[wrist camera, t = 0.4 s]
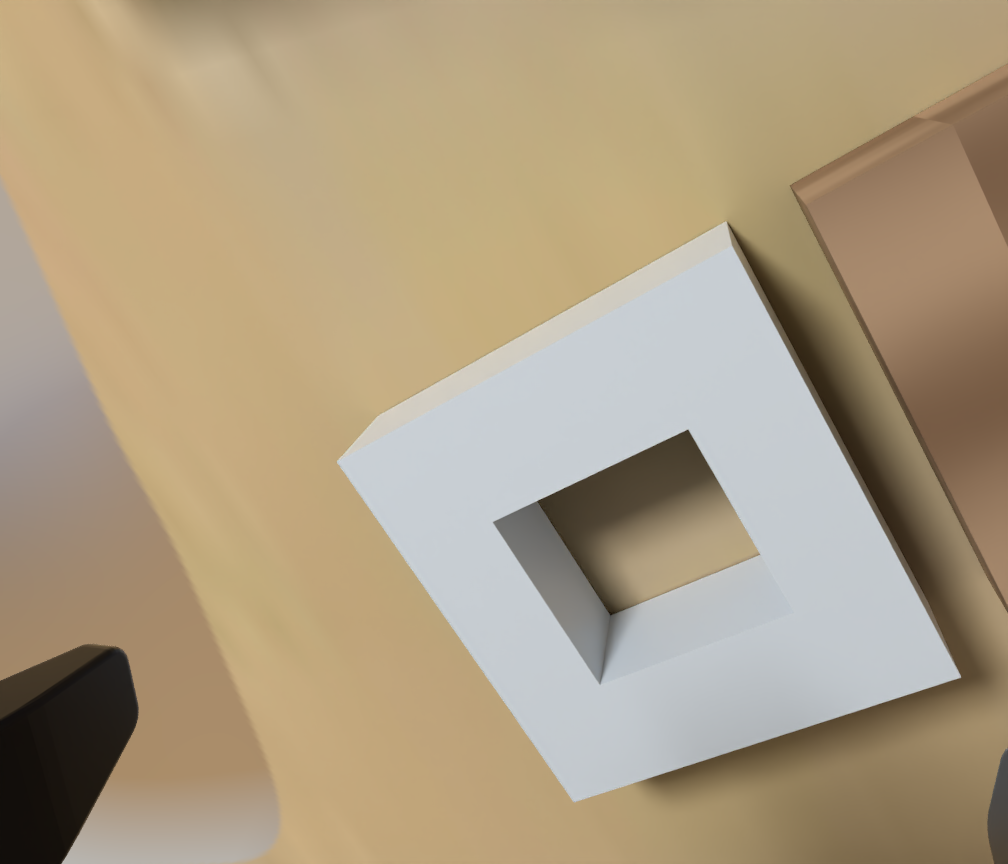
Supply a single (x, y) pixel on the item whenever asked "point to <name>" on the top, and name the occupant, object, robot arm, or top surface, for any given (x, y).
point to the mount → (935, 288)
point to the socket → (686, 610)
